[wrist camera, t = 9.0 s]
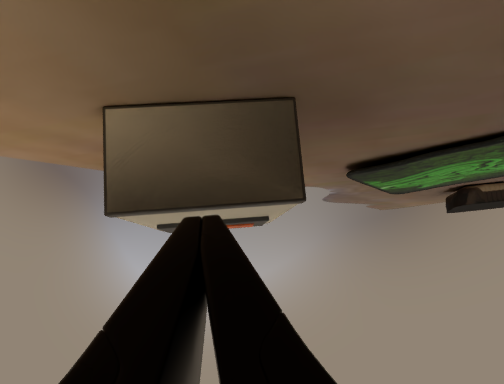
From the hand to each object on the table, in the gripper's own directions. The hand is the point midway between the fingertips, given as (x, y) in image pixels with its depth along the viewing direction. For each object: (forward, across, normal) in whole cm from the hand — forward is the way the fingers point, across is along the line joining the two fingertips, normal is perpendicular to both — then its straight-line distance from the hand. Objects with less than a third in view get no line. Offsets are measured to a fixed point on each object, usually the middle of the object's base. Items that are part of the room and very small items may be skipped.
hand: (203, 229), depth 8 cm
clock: (+8, 0, +2) cm, 8 cm away
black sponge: (+37, -45, +27) cm, 64 cm away
